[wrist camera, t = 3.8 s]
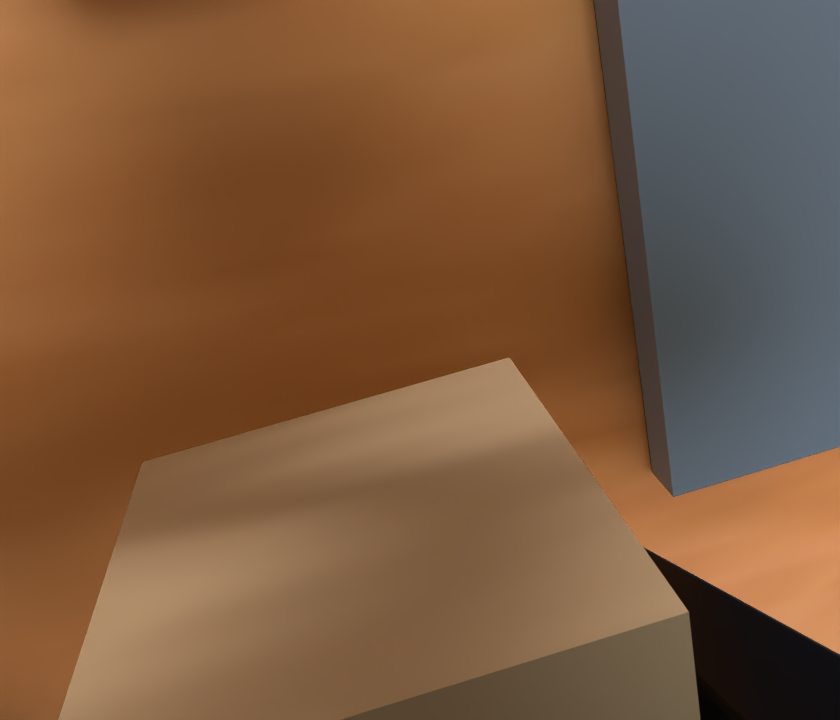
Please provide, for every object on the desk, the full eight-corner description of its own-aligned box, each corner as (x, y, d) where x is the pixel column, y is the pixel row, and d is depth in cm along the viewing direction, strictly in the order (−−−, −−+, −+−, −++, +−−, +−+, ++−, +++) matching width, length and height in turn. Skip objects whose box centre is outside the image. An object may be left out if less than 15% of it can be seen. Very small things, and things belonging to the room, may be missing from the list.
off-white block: (261, 726, 11) (248, 1142, 7) (141, 462, 9) (25, 816, 5) (564, 632, 11) (729, 979, 7) (509, 356, 9) (688, 611, 5)
